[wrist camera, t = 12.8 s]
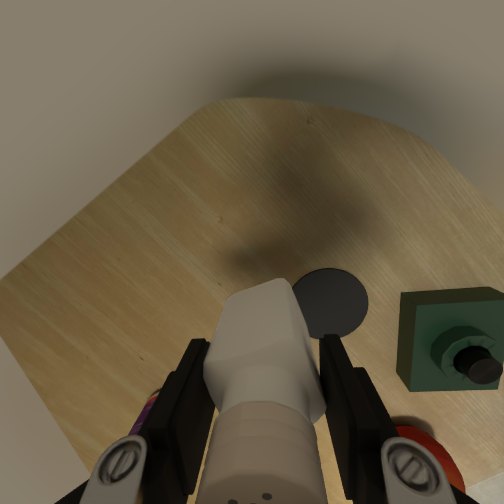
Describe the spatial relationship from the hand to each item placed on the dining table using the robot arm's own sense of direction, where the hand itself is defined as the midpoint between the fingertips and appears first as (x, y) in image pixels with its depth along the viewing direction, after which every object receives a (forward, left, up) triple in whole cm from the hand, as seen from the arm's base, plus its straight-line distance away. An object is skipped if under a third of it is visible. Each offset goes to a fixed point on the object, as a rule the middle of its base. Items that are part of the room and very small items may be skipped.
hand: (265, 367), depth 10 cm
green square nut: (+13, +21, -19) cm, 31 cm away
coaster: (+8, +7, -19) cm, 22 cm away
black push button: (+13, +21, -15) cm, 29 cm away
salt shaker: (0, 0, -5) cm, 5 cm away
